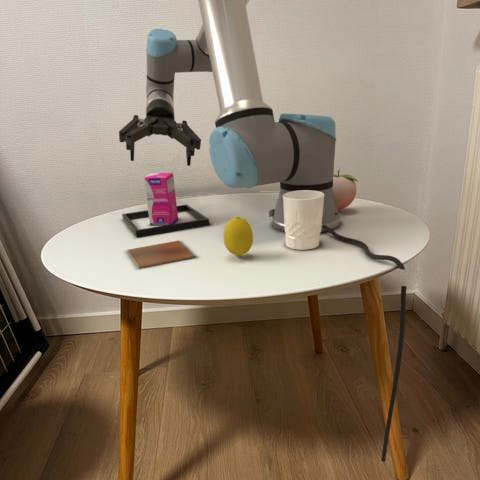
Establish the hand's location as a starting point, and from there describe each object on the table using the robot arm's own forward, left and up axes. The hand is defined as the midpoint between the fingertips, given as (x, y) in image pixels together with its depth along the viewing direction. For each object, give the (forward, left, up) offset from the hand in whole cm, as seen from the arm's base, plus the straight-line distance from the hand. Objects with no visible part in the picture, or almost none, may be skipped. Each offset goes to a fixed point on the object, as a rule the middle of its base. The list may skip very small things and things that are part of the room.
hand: (161, 158), depth 104 cm
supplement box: (-3, +2, -15) cm, 15 cm away
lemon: (-36, -4, -15) cm, 40 cm away
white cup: (-36, -18, -15) cm, 43 cm away
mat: (-26, +9, -15) cm, 32 cm away
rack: (-3, +2, -14) cm, 15 cm away
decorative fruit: (-19, -38, -15) cm, 45 cm away
